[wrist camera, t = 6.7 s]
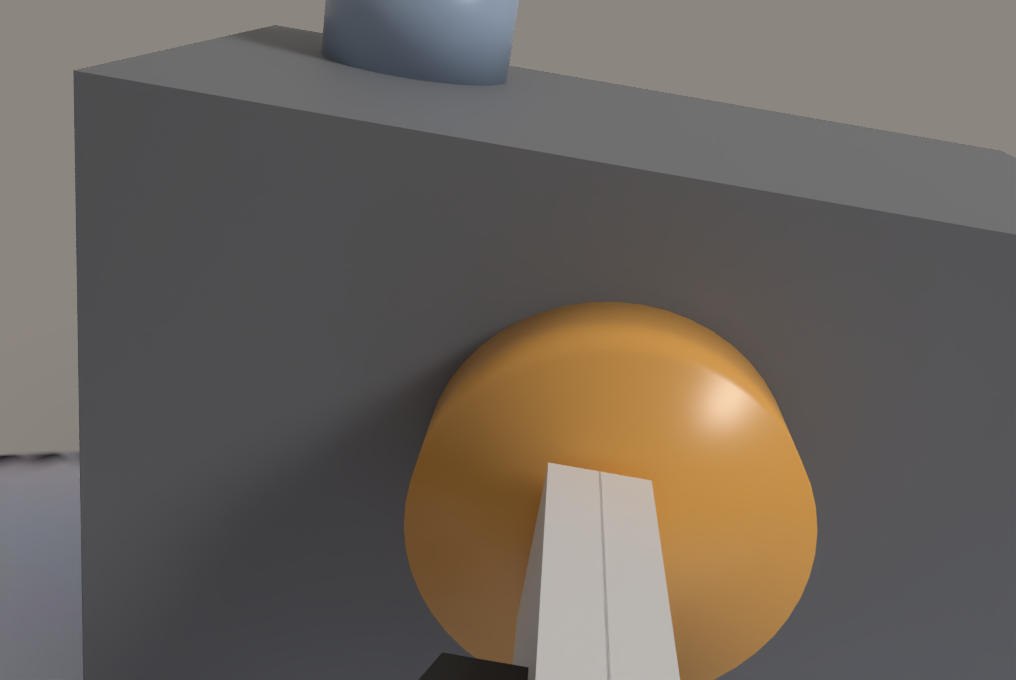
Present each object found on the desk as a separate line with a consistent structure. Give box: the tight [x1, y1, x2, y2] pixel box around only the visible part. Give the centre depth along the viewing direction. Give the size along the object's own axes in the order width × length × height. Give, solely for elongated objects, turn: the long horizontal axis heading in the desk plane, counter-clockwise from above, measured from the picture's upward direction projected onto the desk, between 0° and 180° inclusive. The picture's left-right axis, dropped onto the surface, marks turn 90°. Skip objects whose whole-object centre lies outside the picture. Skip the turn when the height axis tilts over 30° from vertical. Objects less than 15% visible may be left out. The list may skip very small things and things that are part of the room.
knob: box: [404, 302, 817, 680], centre depth 18 cm, size 6×8×6 cm
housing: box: [74, 25, 1016, 680], centre depth 21 cm, size 18×10×14 cm, turn 86°
